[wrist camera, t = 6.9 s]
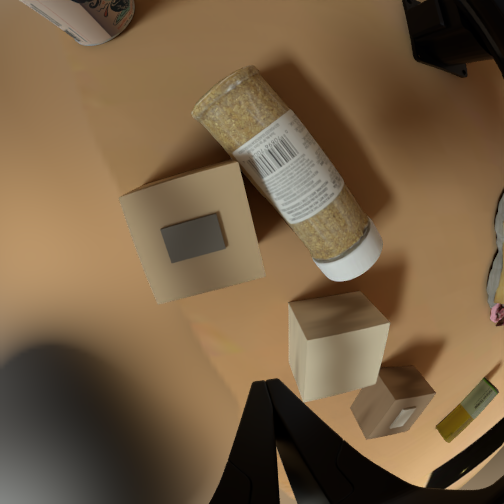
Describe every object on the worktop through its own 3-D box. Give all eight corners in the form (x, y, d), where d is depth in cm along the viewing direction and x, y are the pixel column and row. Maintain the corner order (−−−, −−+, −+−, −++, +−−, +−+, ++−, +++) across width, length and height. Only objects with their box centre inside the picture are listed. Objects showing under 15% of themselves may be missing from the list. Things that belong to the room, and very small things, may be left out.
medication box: (484, 374, 33) (497, 387, 29) (487, 379, 33) (499, 392, 29) (434, 427, 34) (444, 441, 31) (439, 430, 35) (449, 444, 31)
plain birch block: (359, 290, 22) (390, 322, 18) (352, 348, 24) (375, 383, 20) (288, 301, 22) (307, 340, 17) (288, 360, 24) (303, 402, 19)
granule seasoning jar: (192, 116, 16) (317, 266, 21) (183, 106, 12) (340, 296, 17) (249, 73, 16) (365, 227, 20) (258, 51, 12) (397, 248, 16)
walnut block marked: (413, 365, 27) (437, 394, 22) (389, 402, 29) (408, 432, 24) (373, 367, 26) (396, 401, 21) (349, 406, 28) (366, 440, 23)
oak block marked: (231, 159, 18) (238, 161, 13) (253, 246, 20) (266, 277, 15) (141, 185, 18) (117, 198, 13) (169, 268, 20) (157, 306, 15)
